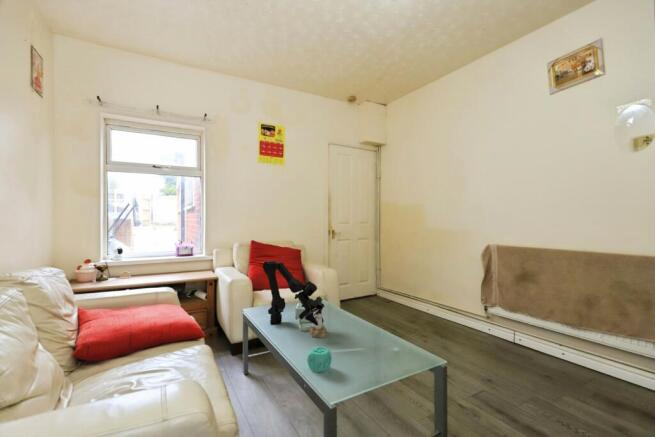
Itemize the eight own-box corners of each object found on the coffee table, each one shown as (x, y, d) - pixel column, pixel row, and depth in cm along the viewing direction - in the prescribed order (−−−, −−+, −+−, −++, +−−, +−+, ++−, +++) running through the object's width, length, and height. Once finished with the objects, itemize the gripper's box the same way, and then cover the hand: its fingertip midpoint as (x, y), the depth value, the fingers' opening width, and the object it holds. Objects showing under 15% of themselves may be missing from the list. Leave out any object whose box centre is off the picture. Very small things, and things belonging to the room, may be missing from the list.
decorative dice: (306, 369, 129) (307, 351, 129) (317, 361, 135) (317, 344, 135) (321, 375, 124) (322, 356, 124) (331, 367, 131) (332, 349, 131)
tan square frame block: (311, 339, 160) (312, 331, 160) (309, 332, 169) (309, 326, 168) (326, 338, 162) (326, 331, 162) (323, 332, 170) (323, 325, 170)
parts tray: (299, 332, 169) (299, 327, 169) (297, 323, 182) (297, 319, 182) (322, 331, 172) (322, 326, 172) (318, 322, 185) (318, 318, 185)
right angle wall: (313, 320, 191) (313, 309, 190) (295, 319, 191) (295, 308, 191) (314, 314, 202) (314, 303, 202) (297, 313, 203) (297, 303, 203)
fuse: (315, 335, 163) (315, 316, 163) (313, 332, 167) (314, 313, 167) (322, 335, 164) (323, 315, 164) (320, 332, 168) (321, 313, 168)
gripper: (304, 296, 159) (319, 320, 154) (322, 289, 175) (337, 311, 169) (292, 307, 164) (307, 331, 158) (311, 300, 179) (325, 322, 174)
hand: (320, 323), depth 165 cm, fingers open, 5 cm apart
